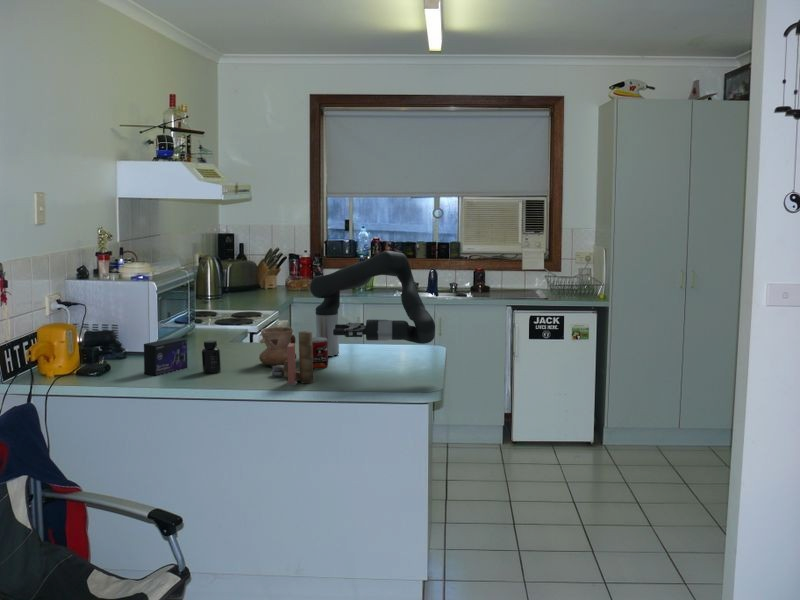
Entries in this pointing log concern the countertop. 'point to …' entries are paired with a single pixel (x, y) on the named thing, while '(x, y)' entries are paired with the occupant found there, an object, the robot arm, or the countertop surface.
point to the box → (165, 356)
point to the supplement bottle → (211, 358)
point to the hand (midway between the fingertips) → (334, 329)
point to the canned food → (320, 352)
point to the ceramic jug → (276, 345)
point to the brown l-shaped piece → (302, 359)
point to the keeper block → (291, 365)
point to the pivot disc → (277, 373)
